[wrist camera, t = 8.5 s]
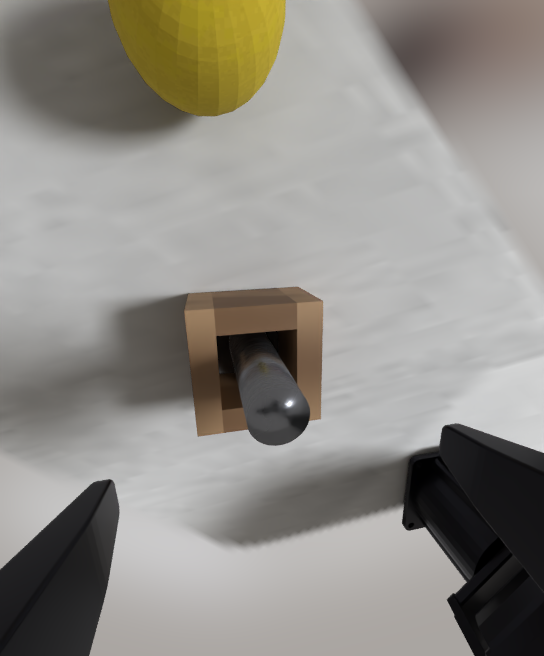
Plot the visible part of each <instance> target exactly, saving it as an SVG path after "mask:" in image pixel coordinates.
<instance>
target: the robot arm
mask: <svg viewBox="0 0 544 656" xmlns="http://www.w3.org/2000/svg"><path fill="white" fill-rule="evenodd" d="M118 520H119V503H118V498H117V493H116V489H115V484H114V482H113V480H111V479H108V480H102V481H96V482H94V483H92V484H91V485H90V486H89V487H88V488H87V489H86V490H84V491H83V492H82V493H81V494H80V495H79V496H78V497H77V498H76V499H75V500H74V501H73V502H72V503H71V504H70V505H68V506H67V507H66V508H65V509H64V510H63V511H62V512H61V513H60V514H59V515H58V516H57V517H56V518H55V519H54V520H53V521H51V522H50V523H49V525H47V526H46V527H45V528H44V529H43V530H42V531H41V532H40V533H39V534H38V535H37V536H36V537H34V538H33V540H31V541H30V542H29V543H28V544H27V545H26V546H25V547H24V548H23V549H22V550H21V551H20V552H18V554H17V555H16V556H14V557H13V558H12V559H11V560H10V561H9V562H8V563H7V564H6V565H5V566H4V567H3V568H1V569H0V656H89V654H90V650H91V647H92V643H93V639H94V636H95V632H96V628H97V624H98V621H99V617H100V613H101V610H102V606H103V602H104V598H105V594H106V590H107V586H108V580H109V575H110V568H111V562H112V556H113V550H114V544H115V538H116V532H117V525H118ZM402 524H403V526H404V527H405V529H406V530H414V529H419V528H423V527H426V529H427V530H428V531H429V533H430V534H431V535H432V537H433V538H434V539H435V541H436V542H437V543H438V544H439V546H440V547H441V549H442V550H443V551H444V553H445V554H446V555H447V557H448V558H449V559H450V561H451V562H452V563H453V564H454V566H455V567H456V568H457V570H458V571H459V572H460V574H461V575H462V576H463V578H464V579H465V580H466V582H467V583H466V584H465V585H464V586H463V587H462V588H461V589H460V590H459V591H458V592H457V593H456V594H454V593H453V594H452V595H451V596H450V597H449V598H448V599H447V601H448V603H449V605H450V607H451V609H452V611H453V613H454V617H455V619H456V621H457V623H458V625H459V627H460V629H461V630H462V633H463V634H464V636H465V638H466V640H467V642H468V644H469V646H470V648H471V650H472V652H473V653H474V655H475V656H544V453H542V452H539V451H536V450H533V449H530V448H528V447H525V446H522V445H519V444H516V443H513V442H510V441H507V440H504V439H502V438H499V437H496V436H493V435H490V434H487V433H484V432H481V431H478V430H476V429H473V428H470V427H467V426H464V425H461V424H450V425H445V426H444V427H443V428H442V433H441V439H440V446H439V452H435V453H429V454H424V455H418V456H414V457H413V458H411V460H410V462H409V468H408V476H407V485H406V493H405V502H404V510H403V519H402Z"/></svg>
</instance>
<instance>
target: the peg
mask: <svg viewBox="0 0 544 656" xmlns="http://www.w3.org/2000/svg"><path fill="white" fill-rule="evenodd" d="M229 348H230V353H231V357H232V361H233V366H234V370H235V374H236V379H237V383H238V388H239V392H240V396H241V401H242V405H243V410H244V414H245V418H246V423H247V427H248V430H249V432H250V434H251V435H252V436H253V437H254V438H255V439H256V440H257V441H259V442H261V443H263V444H266V445H275V446H276V445H283V444H286V443H289V442H291V441H293V440H294V439H296V438H297V437H298V436H300V435H301V434H302V432H303V431H304V430H305V428H306V427H307V425H308V422H309V419H310V407H309V404H308V402H307V400H306V398H305V397H304V395H303V393H302V392H301V390H300V388H299V387H298V385H297V384H296V382H295V380H294V379H293V377H292V376H291V374H290V372H289V371H288V369H287V367H286V366H285V364H284V363H283V361H282V359H281V358H280V356H279V355H278V353H277V351H276V350H275V348H274V346H273V345H272V343H271V342H270V340H269V338H268V337H267V335H266V334H265V332H258V333H246V334H234V335H230V337H229Z"/></svg>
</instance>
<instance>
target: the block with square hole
mask: <svg viewBox="0 0 544 656" xmlns="http://www.w3.org/2000/svg"><path fill="white" fill-rule="evenodd" d="M184 314H185V323H186V332H187V341H188V351H189V360H190V369H191V379H192V388H193V397H194V407H195V416H196V425H197V435H198V436H205V435H212V434H219V433H226V432H233V431H240V430H247V429H248V427H247V423H246V418H245V414H244V410H243V405H242V401H241V396H240V392H239V388H238V383H237V379H236V374H235V373H226V374H219V367H218V354H217V342H216V336H223V335H234V334H246V333H258V332H269V331H278V348H279V356H280V358H281V359H282V361H283V363H284V364H285V366H286V367H287V369H288V371H289V372H290V374H291V376H292V377H293V379H294V380H295V382H296V384H297V385H298V387H299V388H300V390H301V392H302V393H303V395H304V397H305V398H306V400H307V402H308V404H309V407H310V419H309V421H311V420H318V419H321V379H322V332H323V301H322V300H320V299H319V298H317V297H315V296H313V295H312V294H310V293H308V292H306V291H305V290H303V289H301V288H299V287H288V288H271V289H255V290H238V291H221V292H205V293H188V297H187V301H186V305H185V310H184Z"/></svg>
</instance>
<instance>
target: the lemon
mask: <svg viewBox="0 0 544 656" xmlns="http://www.w3.org/2000/svg"><path fill="white" fill-rule="evenodd" d="M108 3H109V7H110V12H111V17H112V20H113V23H114V26H115V28H116V31H117V33H118V35H119V38H120V40H121V42H122V45H123V47H124V49H125V52H126V54H127V56H128V58H129V59H130V61H131V62H132V64H133V65H134V66H135V68H136V69H137V71H138V72H139V74H140V75H141V77H142V78H143V80H144V81H145V82H146V83H147V85H148V86H150V87H151V88H152V89H153V90H154V91H155V92H156V93H157V94H158V95H159V96H160V97H161V98H162V99H163V100H165V101H166V102H168V103H170V104H171V105H173V106H175V107H176V108H178V109H180V110H182V111H184V112H188V113H191V114H194V115H198V116H218V115H222V114H225V113H229V112H232V111H234V110H236V109H237V108H239V107H240V106H242V105H243V104H245V103H246V102H248V101H249V100H250V99H251V98H252V97H253V95H254V94H255V93H256V92H257V91H258V90H259V89H260V87H261V86H262V85H263V83H264V82H265V80H266V78H267V76H268V74H269V72H270V70H271V68H272V66H273V64H274V61H275V59H276V56H277V53H278V49H279V45H280V41H281V36H282V32H283V27H284V22H285V0H108Z"/></svg>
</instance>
